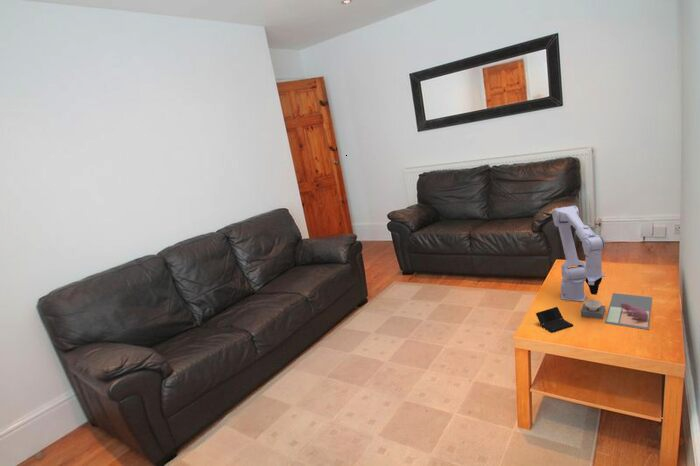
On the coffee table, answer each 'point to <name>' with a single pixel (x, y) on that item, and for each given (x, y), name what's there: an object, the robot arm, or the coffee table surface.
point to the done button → (593, 304)
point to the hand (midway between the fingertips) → (594, 293)
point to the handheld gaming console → (553, 320)
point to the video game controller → (635, 311)
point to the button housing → (593, 312)
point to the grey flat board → (620, 315)
